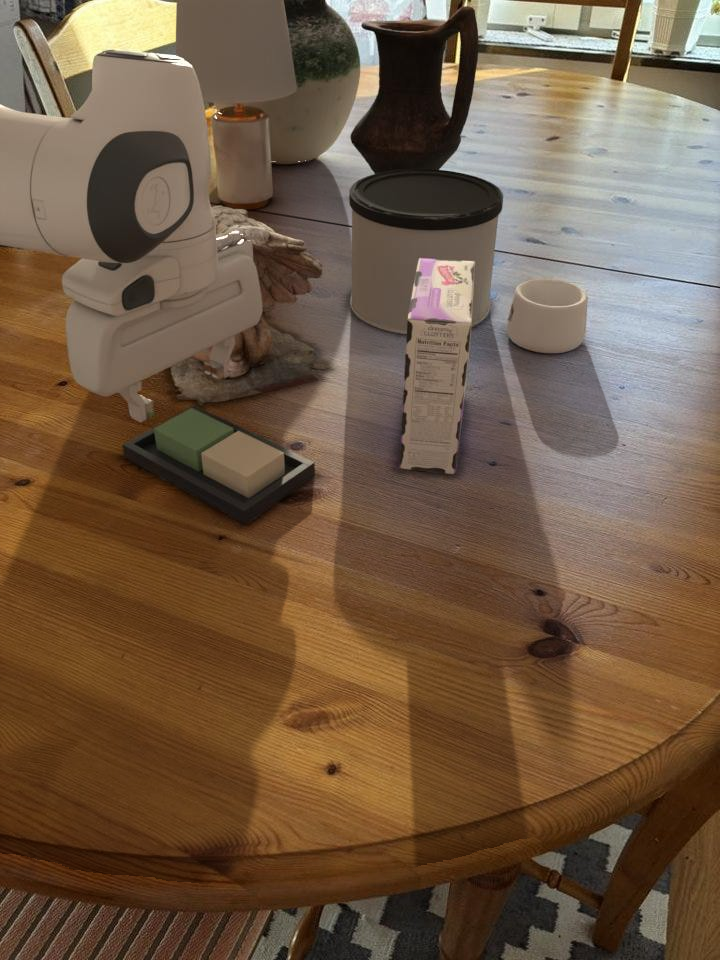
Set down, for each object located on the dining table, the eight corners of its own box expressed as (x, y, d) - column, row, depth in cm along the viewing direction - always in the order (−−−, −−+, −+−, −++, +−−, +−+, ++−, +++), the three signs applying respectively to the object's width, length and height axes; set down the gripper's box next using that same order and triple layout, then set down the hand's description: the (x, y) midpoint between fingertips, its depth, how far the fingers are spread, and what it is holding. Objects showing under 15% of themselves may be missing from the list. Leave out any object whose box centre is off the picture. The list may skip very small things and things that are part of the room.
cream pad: (248, 498, 79) (247, 477, 78) (203, 474, 82) (200, 453, 81) (285, 474, 82) (284, 452, 81) (240, 451, 85) (238, 430, 84)
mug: (585, 359, 103) (594, 313, 99) (504, 352, 104) (510, 306, 100) (581, 315, 112) (589, 272, 109) (506, 309, 113) (512, 266, 110)
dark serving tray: (245, 525, 77) (244, 511, 76) (124, 457, 85) (122, 444, 84) (315, 475, 83) (314, 462, 82) (195, 417, 91) (194, 404, 90)
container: (385, 266, 125) (388, 160, 116) (509, 291, 118) (523, 181, 109) (323, 317, 111) (322, 201, 102) (461, 349, 104) (472, 228, 95)
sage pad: (198, 472, 82) (196, 450, 81) (156, 449, 85) (153, 428, 84) (235, 449, 86) (233, 428, 84) (193, 428, 88) (191, 407, 87)
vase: (365, 139, 177) (368, -29, 160) (351, 183, 155) (352, -8, 137) (230, 134, 179) (218, -32, 162) (196, 176, 157) (177, -12, 139)
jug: (327, 199, 147) (326, 1, 130) (387, 173, 160) (393, -12, 142) (433, 226, 138) (447, 15, 120) (487, 195, 150) (508, 1, 132)
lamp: (219, 179, 156) (201, -39, 135) (316, 191, 151) (312, -33, 130) (166, 212, 141) (137, -26, 121) (272, 228, 136) (259, -18, 116)
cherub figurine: (145, 339, 105) (123, 193, 95) (284, 314, 111) (278, 174, 101) (183, 410, 92) (163, 250, 82) (337, 377, 98) (337, 224, 88)
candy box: (410, 397, 95) (418, 255, 85) (463, 402, 94) (477, 259, 85) (397, 470, 84) (404, 316, 74) (457, 475, 83) (473, 321, 74)
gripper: (225, 218, 82) (233, 348, 90) (43, 283, 68) (72, 429, 77) (274, 233, 79) (279, 367, 87) (94, 305, 65) (119, 455, 74)
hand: (180, 397), depth 82 cm, fingers open, 8 cm apart
